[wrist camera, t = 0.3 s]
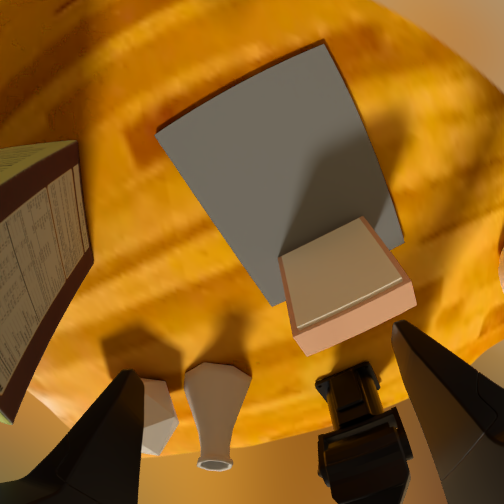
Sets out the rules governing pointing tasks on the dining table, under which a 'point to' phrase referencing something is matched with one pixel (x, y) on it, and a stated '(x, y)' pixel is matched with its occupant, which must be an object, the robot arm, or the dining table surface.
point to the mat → (282, 164)
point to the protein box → (37, 256)
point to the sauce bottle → (501, 269)
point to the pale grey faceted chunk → (157, 417)
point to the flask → (215, 409)
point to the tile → (342, 286)
